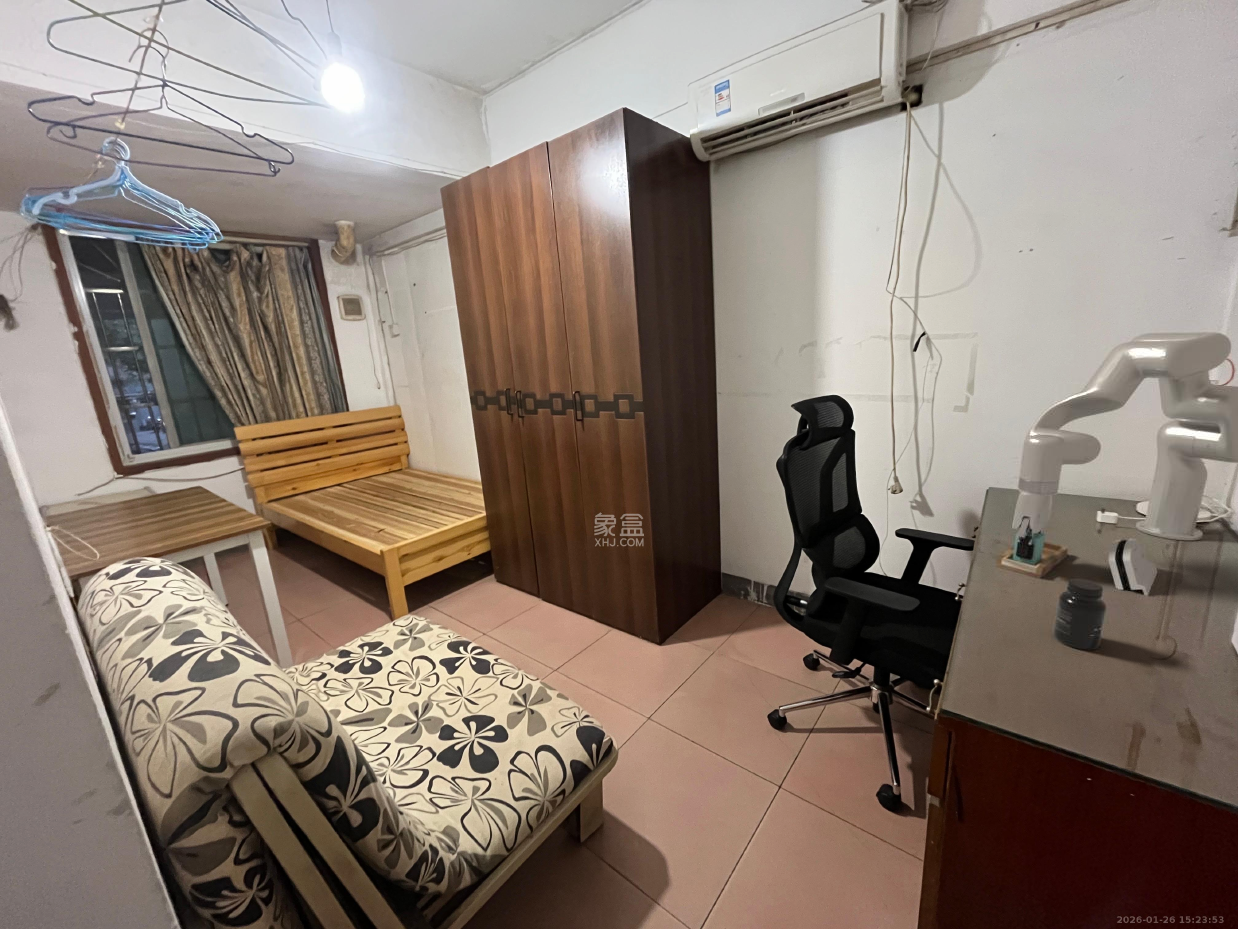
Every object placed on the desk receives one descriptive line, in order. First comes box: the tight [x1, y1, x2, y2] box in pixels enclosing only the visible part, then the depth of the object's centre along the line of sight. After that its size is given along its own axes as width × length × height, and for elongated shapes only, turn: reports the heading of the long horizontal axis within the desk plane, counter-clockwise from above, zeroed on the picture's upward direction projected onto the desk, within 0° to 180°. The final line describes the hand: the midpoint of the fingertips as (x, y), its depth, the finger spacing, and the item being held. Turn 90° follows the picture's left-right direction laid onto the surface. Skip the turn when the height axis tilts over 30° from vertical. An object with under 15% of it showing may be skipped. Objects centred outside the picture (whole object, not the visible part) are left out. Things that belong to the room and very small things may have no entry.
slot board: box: [995, 541, 1069, 579], centre depth 129 cm, size 19×9×2 cm, turn 125°
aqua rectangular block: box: [1013, 530, 1046, 565], centre depth 125 cm, size 4×4×7 cm
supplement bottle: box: [1052, 578, 1108, 651], centre depth 96 cm, size 7×7×12 cm
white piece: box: [1107, 538, 1158, 597], centre depth 117 cm, size 17×5×10 cm, turn 129°
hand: (1027, 554), depth 126 cm, fingers closed on aqua rectangular block, 4 cm apart
